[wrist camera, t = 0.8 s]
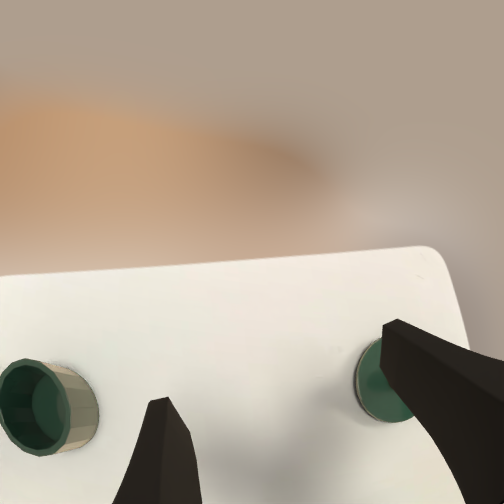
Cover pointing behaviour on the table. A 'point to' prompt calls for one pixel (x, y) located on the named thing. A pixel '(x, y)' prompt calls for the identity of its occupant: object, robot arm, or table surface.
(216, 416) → the table surface
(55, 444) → the pot
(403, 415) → the lid
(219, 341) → the table surface
